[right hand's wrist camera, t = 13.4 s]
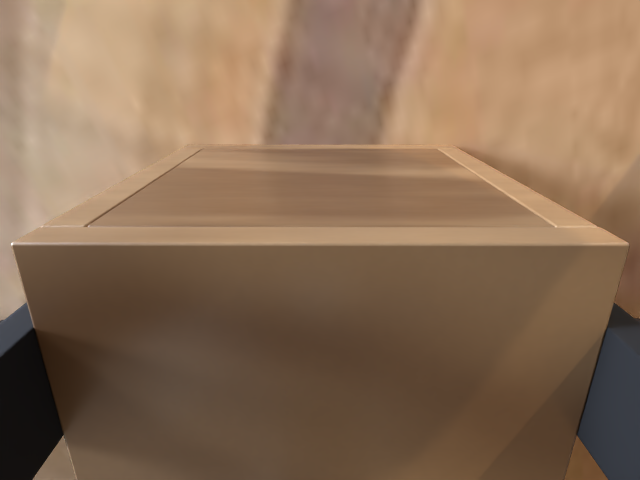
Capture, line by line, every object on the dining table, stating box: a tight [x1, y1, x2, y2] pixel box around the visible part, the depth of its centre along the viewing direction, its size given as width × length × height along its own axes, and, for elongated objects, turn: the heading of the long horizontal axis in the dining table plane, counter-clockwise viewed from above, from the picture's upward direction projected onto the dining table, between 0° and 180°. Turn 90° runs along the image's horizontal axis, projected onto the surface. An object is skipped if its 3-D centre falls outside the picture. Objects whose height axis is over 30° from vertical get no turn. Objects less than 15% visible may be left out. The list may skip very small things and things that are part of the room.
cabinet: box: [11, 145, 630, 480], centre depth 16 cm, size 18×11×11 cm, turn 0°
